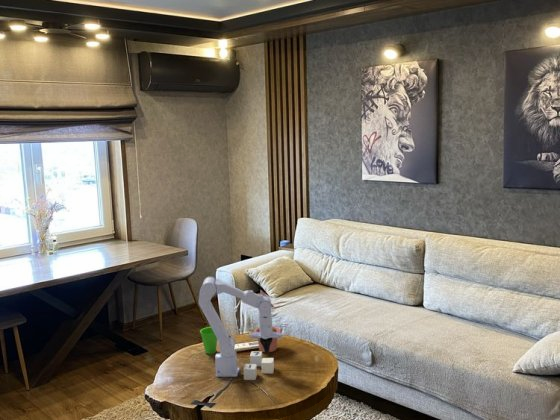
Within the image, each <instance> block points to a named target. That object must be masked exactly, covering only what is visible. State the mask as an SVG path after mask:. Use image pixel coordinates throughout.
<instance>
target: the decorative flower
mask: <svg viewBox="0 0 560 420" xmlns="http://www.w3.org/2000/svg"><path fill="white" fill-rule="evenodd" d="M259 291H260V292H259V295H260V296H261V295H263V296H267V294H266V293H265V292H264V291H263V290H262V289H260V290H259ZM271 306H272V308H271V309H277V308H276V307H275V305H274V304H273V303H272V302H271ZM256 324H257V325H259V322H256ZM272 330H273V332H278V333H283V332H282V329H280V327H276V326H273V325H272ZM256 332H260V330H259V327H257V328H255V329H254V330H253V332H252V333H256ZM256 339H257V344H258V348H259V349H258V350H259V351H262V353H265V350H264V348H263V346H262V344H261V342H260V338H256ZM277 347H278V338H273V339H272V342H271V345H270V348H269V353H272V352H275V351H276V350H277Z"/></svg>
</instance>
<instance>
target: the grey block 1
mask: <svg viewBox="0 0 560 420" xmlns="http://www.w3.org/2000/svg"><path fill="white" fill-rule="evenodd" d="M257 376H258V366H257V364H250V363H245V364H244V367H243V380H245V381H256V379H257Z"/></svg>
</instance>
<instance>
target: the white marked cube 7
mask: <svg viewBox="0 0 560 420" xmlns="http://www.w3.org/2000/svg"><path fill="white" fill-rule="evenodd" d="M262 358H263V352H262V351H260V350H259V351H255V350H254V351H251V352H250V355H249V364H257V367H261V362H262Z"/></svg>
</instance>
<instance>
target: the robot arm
mask: <svg viewBox="0 0 560 420" xmlns="http://www.w3.org/2000/svg"><path fill="white" fill-rule="evenodd" d="M224 293H225V294H228V295H231V296H233V297H235V298H238V299H241V302H242V303H244V304H246V305H248V306H250V307H253V308H255V309H258V310H257V311H258V323H259V324H258V328H259V330H260V332H256V333H253V332H249V339H251V340H252V339H257V338H260V342H261V344H262V346H263V348H264V350H265V352H264V354H265V355H269V354H270V352H269V348H270V345H271V342H272V339H273V338H277V339H283V338H284V332H282V333H278V332H273V330H272V326H273V316H272V309H273V308H272V306H271V303H272V300H271V298H270V297H268V295H266V296H263V295H261V294H258V293H255V292H254V290H252V289H250V290H248V289H247V290H244V291H243V290H241V289H239V288H237V287H235V286H233V285H231V284H229V283H227V282H225V281H223V280H221V279H220V278H215V277H214V276H207V277H205V278H204V279H203V282H202V284H201V287H200V289H199V293H198V305H199V307H200V310H201V311H202V313H203V315H204V317H205V318H206V320H207V322H208V324H209V327H211V328H212V330H213V332H214V333H215V335H216V337H217V345H218V346H219V353H216V354H215V358H214V360H215V361H214V364H215V367H214V368H215V377H227V378H228V377H231V378H232V377H233V378H234V377H236V378H237V377H238V375H239V372H240V367H238V357H237V356H238V355H237V350H236V349H235V347H236V339H235V338H234V337H233V336H232V335H231V334H230V333H229V332H228V331H227V329H226V328H225V325H224V324H223V322H222V320H221V318H220V316H219V314H218V313H217V311H216V309H215V307H214V305H213V303H212V298H213V296H214V295H215V294H216V295H220V294H224Z"/></svg>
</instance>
